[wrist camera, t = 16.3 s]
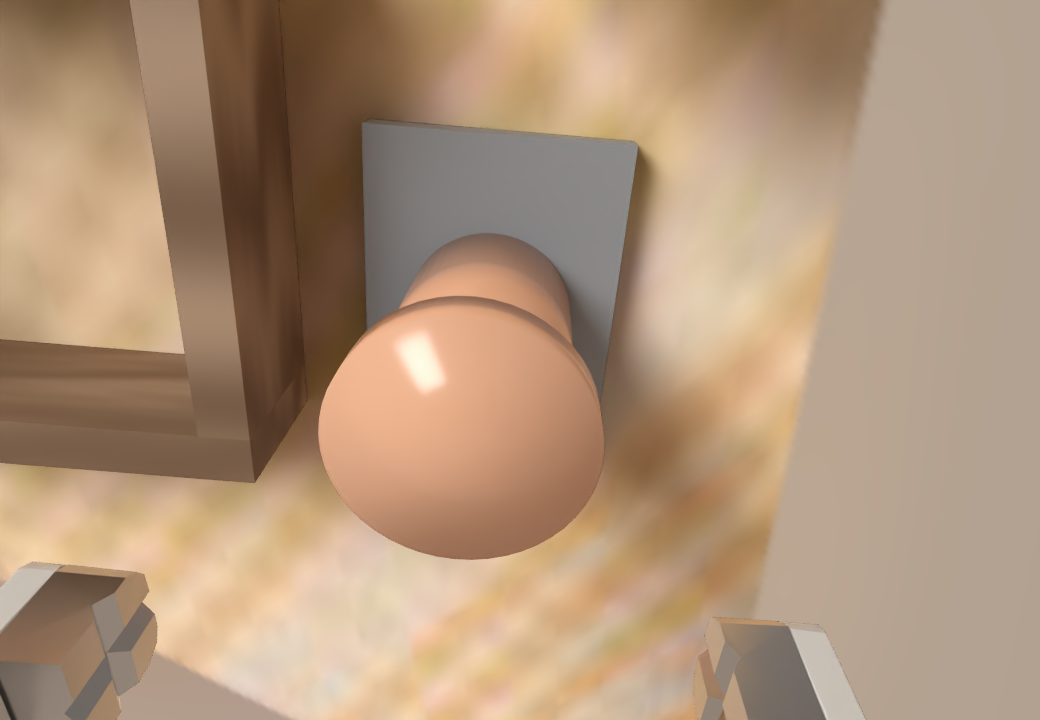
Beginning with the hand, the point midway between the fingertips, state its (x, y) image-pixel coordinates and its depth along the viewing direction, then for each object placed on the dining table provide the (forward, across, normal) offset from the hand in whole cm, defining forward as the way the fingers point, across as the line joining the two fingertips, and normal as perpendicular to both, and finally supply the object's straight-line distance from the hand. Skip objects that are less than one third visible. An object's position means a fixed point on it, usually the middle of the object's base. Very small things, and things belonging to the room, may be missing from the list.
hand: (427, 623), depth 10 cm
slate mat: (+14, 0, +1) cm, 14 cm away
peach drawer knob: (+13, 0, +1) cm, 13 cm away
